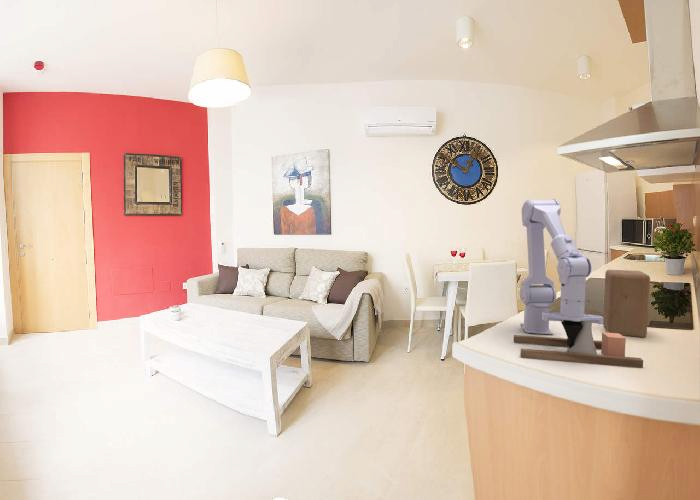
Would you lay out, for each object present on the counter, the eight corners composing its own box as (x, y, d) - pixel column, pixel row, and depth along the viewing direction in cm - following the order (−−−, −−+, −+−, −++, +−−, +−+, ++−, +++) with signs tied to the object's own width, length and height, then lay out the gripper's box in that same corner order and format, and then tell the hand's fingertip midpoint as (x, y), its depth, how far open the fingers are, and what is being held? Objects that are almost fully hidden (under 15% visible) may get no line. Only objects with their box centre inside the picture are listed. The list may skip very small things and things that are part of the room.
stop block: (601, 352, 97) (602, 332, 97) (617, 354, 96) (618, 333, 96) (607, 358, 94) (608, 337, 93) (624, 359, 92) (625, 338, 92)
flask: (569, 345, 102) (573, 313, 101) (598, 353, 97) (603, 319, 96) (564, 352, 96) (569, 318, 95) (596, 361, 92) (601, 325, 90)
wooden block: (607, 334, 112) (610, 273, 110) (602, 325, 121) (605, 269, 119) (647, 338, 107) (651, 275, 105) (638, 329, 116) (642, 270, 114)
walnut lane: (513, 341, 108) (513, 334, 108) (619, 348, 100) (619, 342, 100) (521, 357, 95) (521, 350, 95) (642, 367, 87) (643, 360, 87)
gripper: (546, 301, 94) (545, 349, 96) (609, 304, 90) (606, 354, 91) (540, 296, 101) (539, 341, 102) (598, 298, 97) (596, 345, 98)
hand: (570, 346), depth 97 cm, fingers closed, pressing on flask
